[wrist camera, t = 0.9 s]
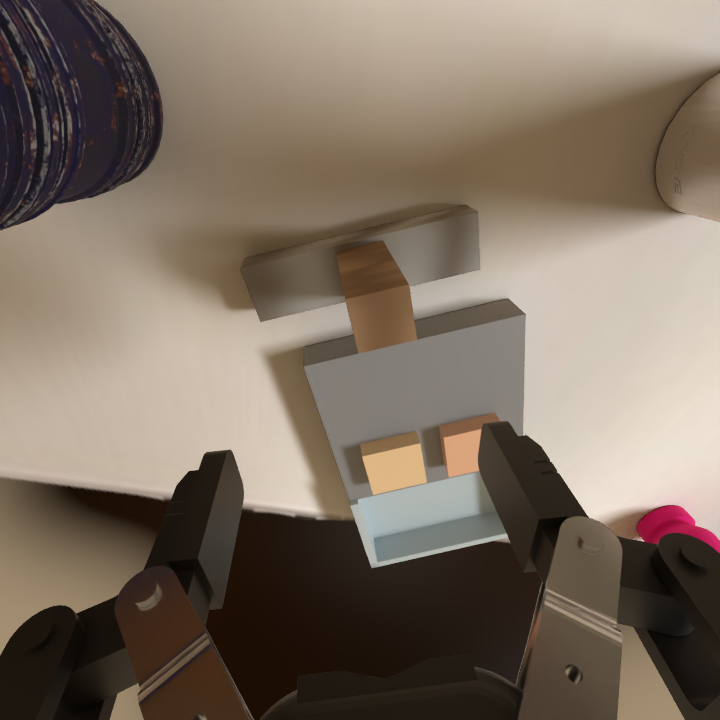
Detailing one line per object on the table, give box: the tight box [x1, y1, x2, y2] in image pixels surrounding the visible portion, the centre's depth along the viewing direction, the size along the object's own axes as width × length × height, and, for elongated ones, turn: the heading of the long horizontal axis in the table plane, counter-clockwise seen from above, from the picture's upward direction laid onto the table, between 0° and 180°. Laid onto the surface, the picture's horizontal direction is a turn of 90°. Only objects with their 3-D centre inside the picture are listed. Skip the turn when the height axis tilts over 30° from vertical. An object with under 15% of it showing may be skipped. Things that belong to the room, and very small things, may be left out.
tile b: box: [360, 431, 427, 495], centre depth 35 cm, size 5×5×2 cm
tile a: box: [439, 413, 501, 477], centre depth 35 cm, size 5×5×2 cm
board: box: [303, 299, 526, 501], centre depth 35 cm, size 17×16×3 cm
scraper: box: [240, 205, 480, 354], centre depth 25 cm, size 16×4×10 cm, turn 102°
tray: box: [350, 472, 508, 568], centre depth 42 cm, size 17×11×4 cm, turn 102°
